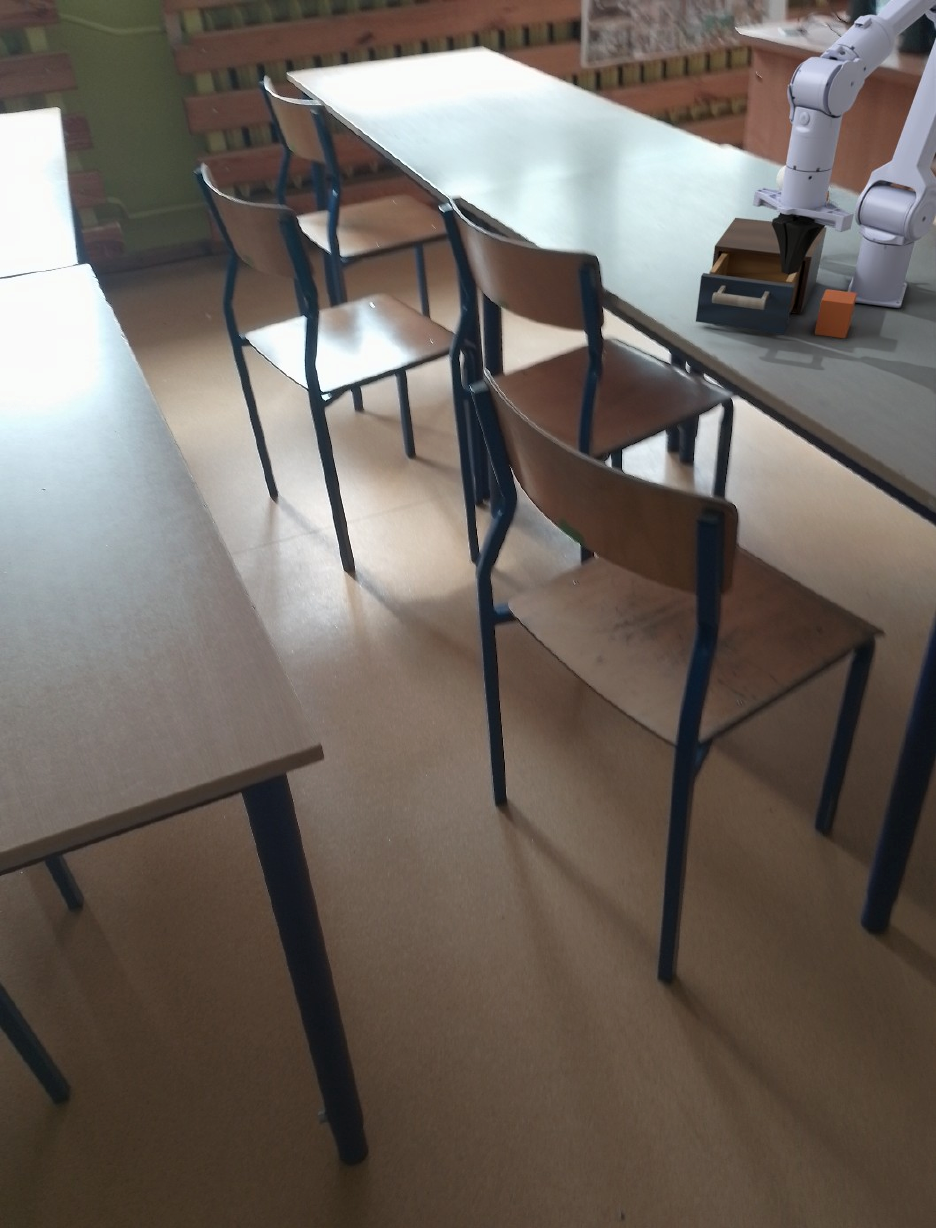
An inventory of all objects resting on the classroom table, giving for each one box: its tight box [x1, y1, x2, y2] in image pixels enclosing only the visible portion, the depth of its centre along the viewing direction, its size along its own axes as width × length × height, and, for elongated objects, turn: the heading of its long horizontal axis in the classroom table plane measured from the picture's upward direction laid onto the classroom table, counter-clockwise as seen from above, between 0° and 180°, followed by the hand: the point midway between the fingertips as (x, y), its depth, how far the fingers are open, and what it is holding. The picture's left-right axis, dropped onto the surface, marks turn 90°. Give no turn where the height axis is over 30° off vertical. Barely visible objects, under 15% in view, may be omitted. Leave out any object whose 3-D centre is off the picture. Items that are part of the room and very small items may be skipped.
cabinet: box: [711, 217, 828, 315], centre depth 149 cm, size 13×14×8 cm
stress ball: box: [776, 164, 786, 191], centre depth 186 cm, size 8×8×7 cm
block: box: [814, 289, 857, 339], centre depth 138 cm, size 4×4×5 cm
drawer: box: [695, 252, 804, 335], centre depth 140 cm, size 17×13×7 cm
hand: (790, 271), depth 134 cm, fingers closed
